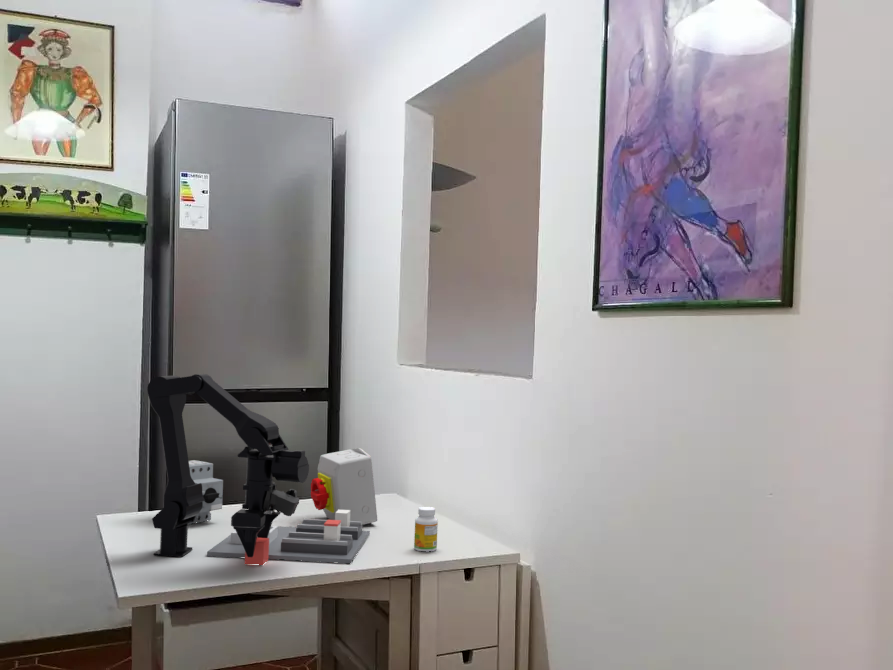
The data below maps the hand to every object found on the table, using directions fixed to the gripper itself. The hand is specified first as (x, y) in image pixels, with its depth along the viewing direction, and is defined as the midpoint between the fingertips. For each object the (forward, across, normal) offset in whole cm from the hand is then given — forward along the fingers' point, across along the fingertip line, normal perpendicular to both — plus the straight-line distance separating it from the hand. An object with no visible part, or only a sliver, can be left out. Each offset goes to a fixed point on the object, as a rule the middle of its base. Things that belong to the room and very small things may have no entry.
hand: (256, 551), depth 174 cm
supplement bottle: (+3, +19, -35) cm, 40 cm away
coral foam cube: (+2, 0, 0) cm, 3 cm away
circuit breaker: (+3, +34, +26) cm, 43 cm away
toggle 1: (-1, +10, -14) cm, 18 cm away
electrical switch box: (+3, +42, -10) cm, 43 cm away
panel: (+2, +16, -4) cm, 17 cm away
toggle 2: (-1, +24, -14) cm, 28 cm away
